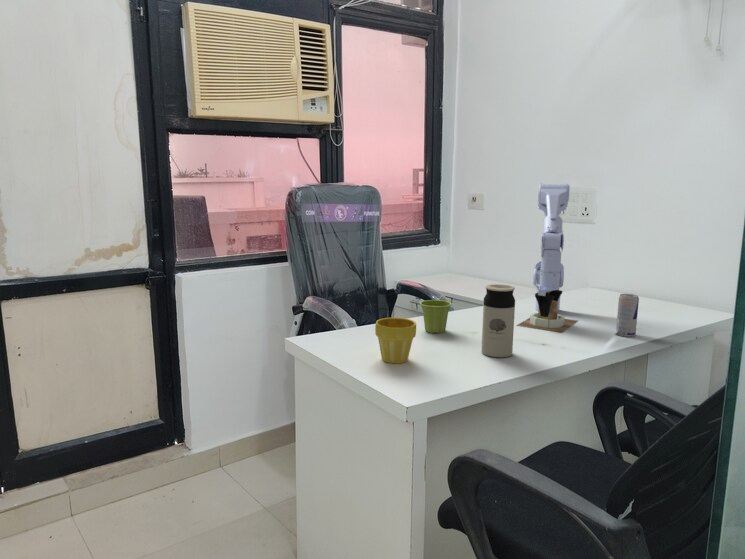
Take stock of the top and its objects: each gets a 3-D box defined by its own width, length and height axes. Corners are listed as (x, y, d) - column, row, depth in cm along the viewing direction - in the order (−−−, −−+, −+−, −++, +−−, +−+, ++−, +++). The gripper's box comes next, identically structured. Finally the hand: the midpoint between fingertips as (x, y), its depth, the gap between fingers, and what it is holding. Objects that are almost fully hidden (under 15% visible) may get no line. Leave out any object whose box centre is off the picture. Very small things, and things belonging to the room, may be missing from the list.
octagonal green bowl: (536, 318, 179) (537, 311, 179) (566, 322, 174) (567, 315, 173) (526, 324, 171) (526, 317, 171) (557, 329, 166) (558, 321, 166)
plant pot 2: (413, 330, 167) (413, 303, 165) (431, 325, 174) (432, 298, 172) (438, 337, 161) (439, 308, 159) (456, 330, 168) (457, 302, 166)
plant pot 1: (423, 361, 139) (424, 323, 137) (390, 368, 133) (390, 329, 131) (399, 350, 147) (400, 315, 146) (367, 357, 142) (367, 320, 140)
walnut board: (535, 317, 185) (535, 314, 185) (578, 323, 177) (578, 320, 177) (515, 328, 170) (515, 325, 170) (561, 336, 162) (561, 332, 162)
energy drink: (637, 334, 164) (641, 295, 162) (631, 338, 161) (635, 298, 158) (619, 331, 168) (622, 292, 166) (613, 334, 164) (616, 295, 162)
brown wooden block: (546, 317, 175) (548, 299, 174) (556, 320, 172) (558, 301, 171) (537, 319, 173) (539, 300, 172) (547, 322, 170) (548, 302, 169)
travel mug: (487, 347, 151) (490, 282, 148) (515, 352, 147) (519, 285, 144) (477, 355, 144) (480, 287, 141) (507, 360, 140) (510, 290, 137)
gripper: (544, 267, 178) (542, 308, 180) (529, 273, 166) (526, 317, 168) (567, 269, 174) (564, 311, 176) (552, 275, 162) (549, 320, 164)
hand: (547, 314), depth 172 cm, fingers open, 5 cm apart
